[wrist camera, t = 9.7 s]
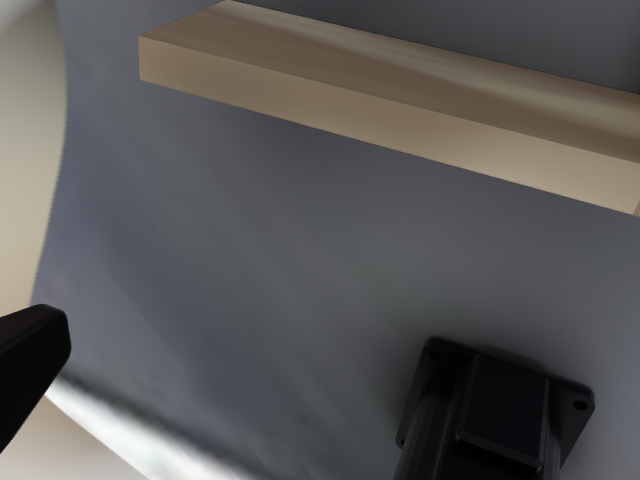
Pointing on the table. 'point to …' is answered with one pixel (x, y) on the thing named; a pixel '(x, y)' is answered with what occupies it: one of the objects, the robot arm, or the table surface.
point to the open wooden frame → (408, 98)
